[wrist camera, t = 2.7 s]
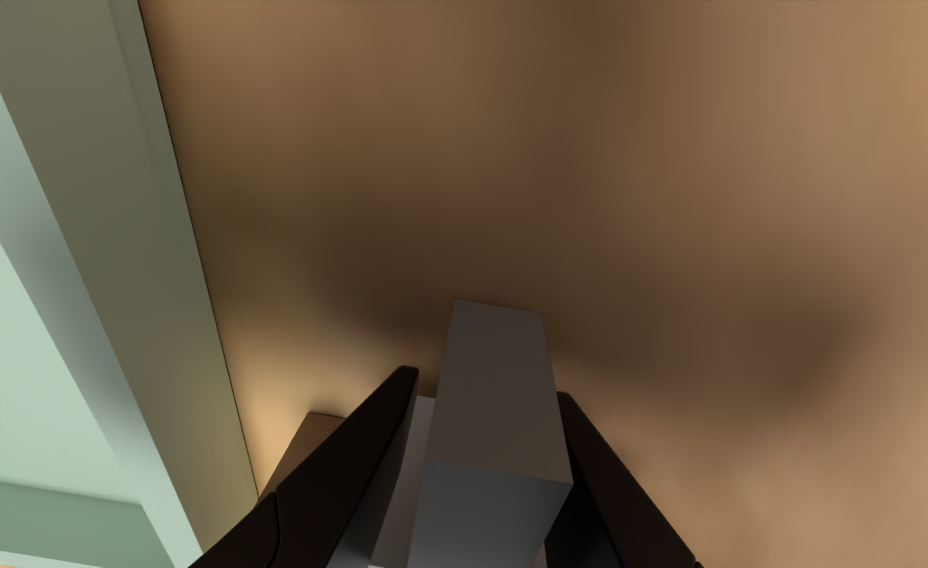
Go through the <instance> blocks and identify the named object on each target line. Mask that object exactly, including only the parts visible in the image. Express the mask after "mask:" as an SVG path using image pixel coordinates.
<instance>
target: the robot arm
mask: <svg viewBox="0 0 928 568" xmlns="http://www.w3.org/2000/svg"><path fill="white" fill-rule="evenodd" d="M418 381H419V369H418V368H417V367H412V366H406V365H402V366H400V367H398V368H397V369H396V370H395V371H394V372H393V373H392V374H391V375H390V376H389V377H388V378H387V379H386V380H385V381H384V382H383V383H382V384H381V385H380V386H379V387H378V388H377V389H376V390H375V391H374V392H373V393H372V394H371V395H370V396H369V397H368V398H367V399H365V400H364V401H363V402H362V403H361V404H360V405H359V406H358V407H357V408H356V409H355V410H354V411H353V412H352V413H351V414H350V415H349V416H348V417H347V418H346V419H345V420H344V421H343V422H342V423H341V424H340V425H339V426H338V427H337V428H336V429H335V430H334V431H333V432H332V433H331V434H330V435H328V436H327V437H326V438H325V439H324V440H323V441H322V442H321V443H320V444H319V445H318V446H317V447H316V448H315V449H314V450H313V451H312V452H311V453H310V454H309V455H308V456H307V457H306V458H305V459H304V460H303V461H302V462H301V463H300V464H299V465H298V466H297V467H296V468H295V469H294V470H293V471H292V472H290V473H289V474H288V475H287V476H286V477H285V478H284V479H283V480H282V481H281V482H280V483H279V484H278V485H277V486H276V487H275V492H274V491H271V492H270V493H269V494H268V495H267V496H266V497H265V498H263V499H262V500H261V501H260V502H259V503H258V504H257V505H256V506H255V507H254V508H253V509H252V510H251V511H250V512H249V513H248V514H247V515H246V516H245V517H244V518H243V519H242V520H241V521H239V522H238V523H237V524H236V525H235V526H234V527H233V528H232V529H231V530H230V531H229V532H228V533H227V534H225V535H224V536H223V537H222V538H221V539H220V540H219V541H218V542H217V543H216V544H214V545H213V546H212V547H211V548H210V549H209V550H207V551H206V552H205V553H204V554H203V555H201V556H200V557H199V558H198V559H197V560H196V561H194V562H193V563H192V564H191V565H190V566H189V567H187V568H368V566H369V563H370V560H371V557H372V554H373V551H374V548H375V545H376V543H377V540H378V537H379V534H380V531H381V528H382V525H383V522H384V519H385V516H386V513H387V510H388V507H389V504H390V501H391V499H392V496H393V493H394V490H395V487H396V484H397V481H398V477H399V474H400V470H401V466H402V462H403V458H404V454H405V449H406V444H407V440H408V435H409V431H410V426H411V421H412V417H413V412H414V408H415V403H416V397H417V389H418ZM556 394H557V399H558V404H559V410H560V415H561V420H562V425H563V431H564V436H565V441H566V446H567V452H568V457H569V462H570V467H571V473H572V478H573V483H574V484H573V486H572V488H571V490H570V492H569V494H568V496H567V498H566V500H565V502H564V503H563V505H562V507H561V509H560V511H559V513H558V515H557V517H556V519H555V521H554V523H553V525H552V527H551V528H550V530H549V532H548V534H547V536H546V538H545V540H544V547H545V556H546V564H547V568H704V567H703V566H702V564H701V563H700V562H698V561H696V558H695V556H694V554H693V553H692V552H691V550H690V549H689V548H688V547H687V545H686V544H685V543H684V541H683V540H682V539H681V537H680V536H679V535H678V534H677V532H676V531H675V530H674V528H673V527H672V526H671V525H670V523H669V522H668V521H667V519H666V518H665V517H664V516H663V514H662V513H661V512H660V510H659V509H658V508H657V506H656V505H655V504H654V503H653V501H652V500H651V499H650V497H649V496H648V495H647V494H646V492H645V491H644V490H643V488H642V487H641V486H640V485H639V483H638V482H637V481H636V479H635V478H634V477H633V475H632V474H631V473H630V472H629V470H628V469H627V468H626V466H625V465H624V464H623V463H622V461H621V460H620V459H619V457H618V456H617V455H616V454H615V452H614V451H613V450H612V448H611V447H610V446H609V444H608V443H607V442H606V441H605V439H604V438H603V437H602V435H601V434H600V433H599V432H598V430H597V429H596V428H595V426H594V425H593V424H592V423H591V421H590V420H589V419H588V417H587V416H586V415H585V413H584V412H583V411H582V410H581V408H580V407H579V406H578V404H577V403H576V402H575V401H574V399H573V398H572V397H571V396H570V395H569V394H568V393H566V392H561V391H556Z"/></svg>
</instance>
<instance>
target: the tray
mask: <svg viewBox="0 0 928 568" xmlns="http://www.w3.org/2000/svg"><path fill="white" fill-rule="evenodd" d="M257 501H258V495H257V491H256V487H255V483H254V478H253V474H252V470H251V466H250V462H249V458H248V454H247V450H246V446H245V442H244V437H243V433H242V429H241V425H240V421H239V417H238V413H237V409H236V405H235V401H234V396H233V392H232V388H231V384H230V380H229V376H228V372H227V368H226V364H225V360H224V355H223V351H222V347H221V343H220V339H219V335H218V331H217V327H216V323H215V318H214V314H213V310H212V306H211V302H210V298H209V294H208V290H207V286H206V282H205V277H204V273H203V269H202V265H201V261H200V257H199V253H198V249H197V245H196V241H195V236H194V232H193V228H192V224H191V220H190V216H189V212H188V208H187V204H186V200H185V195H184V191H183V187H182V183H181V179H180V175H179V171H178V167H177V163H176V158H175V154H174V150H173V146H172V142H171V138H170V134H169V130H168V126H167V122H166V117H165V113H164V109H163V105H162V101H161V97H160V93H159V89H158V85H157V81H156V76H155V72H154V68H153V64H152V60H151V56H150V52H149V48H148V44H147V40H146V35H145V31H144V27H143V23H142V19H141V15H140V11H139V7H138V3H137V0H0V565H6V566H12V567H18V568H187V567H189V566H190V565H191V564H192V563H193V562H194V561H196V560H197V559H198V558H199V557H200V556H201V555H203V554H204V553H205V552H206V551H207V550H209V549H210V548H211V547H212V546H213V545H214V544H216V543H217V542H218V541H219V540H220V539H221V538H222V537H223V536H224V535H225V534H227V533H228V532H229V531H230V530H231V529H232V528H233V527H234V526H235V525H236V524H237V523H238V522H239V521H241V520H242V519H243V518H244V517H245V516H246V515H247V514H248V513H249V512H250V511H251V510H252V509H253V508H254V506H255V504H256V503H257Z"/></svg>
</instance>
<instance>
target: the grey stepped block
mask: <svg viewBox="0 0 928 568" xmlns="http://www.w3.org/2000/svg"><path fill="white" fill-rule="evenodd" d="M573 484H574V483H573V478H572V473H571V467H570V462H569V457H568V452H567V446H566V441H565V436H564V431H563V425H562V420H561V415H560V410H559V404H558V399H557V394H556V389H555V383H554V378H553V373H552V368H551V362H550V357H549V352H548V347H547V341H546V336H545V331H544V326H543V321H542V315H541V313H535V312H529V311H523V310H517V309H512V308H506V307H500V306H494V305H488V304H483V303H477V302H471V301H465V300H459V299H455V300H454V305H453V310H452V316H451V321H450V326H449V331H448V336H447V342H446V347H445V352H444V357H443V362H442V368H441V373H440V378H439V383H438V388H437V394H436V399H435V398H429V397H423V396H417V397H416V403H415V408H414V412H413V417H412V421H411V426H410V431H409V435H408V440H407V444H406V449H405V454H404V458H403V462H402V466H401V470H400V474H399V477H398V481H397V484H396V487H395V490H394V493H393V496H392V499H391V501H390V504H389V507H388V510H387V513H386V516H385V519H384V522H383V525H382V528H381V531H380V534H379V537H378V540H377V543H376V545H375V548H374V551H373V554H372V557H371V560H370V563H369V566H368V568H547V564H546V556H545V547H544V540H545V538H546V536H547V534H548V532H549V530H550V528H551V527H552V525H553V523H554V521H555V519H556V517H557V515H558V513H559V511H560V509H561V507H562V505H563V503H564V502H565V500H566V498H567V496H568V494H569V492H570V490H571V488H572V486H573Z"/></svg>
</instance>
